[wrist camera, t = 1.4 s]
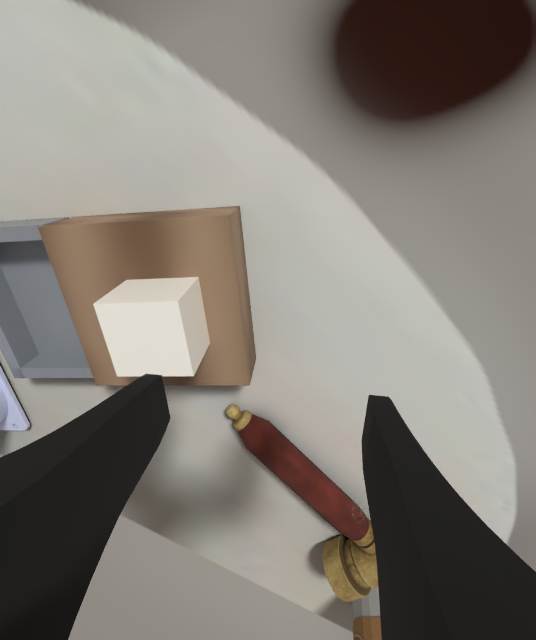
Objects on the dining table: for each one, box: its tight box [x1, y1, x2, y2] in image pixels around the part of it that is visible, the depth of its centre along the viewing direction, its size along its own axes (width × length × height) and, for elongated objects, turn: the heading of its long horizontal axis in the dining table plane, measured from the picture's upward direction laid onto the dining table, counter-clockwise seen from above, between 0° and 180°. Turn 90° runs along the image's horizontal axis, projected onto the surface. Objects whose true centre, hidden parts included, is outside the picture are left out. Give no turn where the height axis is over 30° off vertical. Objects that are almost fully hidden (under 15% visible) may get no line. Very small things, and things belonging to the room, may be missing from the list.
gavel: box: [226, 404, 378, 602], centre depth 27 cm, size 21×5×10 cm
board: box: [38, 206, 256, 385], centre depth 20 cm, size 10×10×3 cm
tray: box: [0, 217, 93, 378], centre depth 22 cm, size 6×10×2 cm, turn 4°
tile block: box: [93, 277, 210, 377], centre depth 17 cm, size 4×4×3 cm
